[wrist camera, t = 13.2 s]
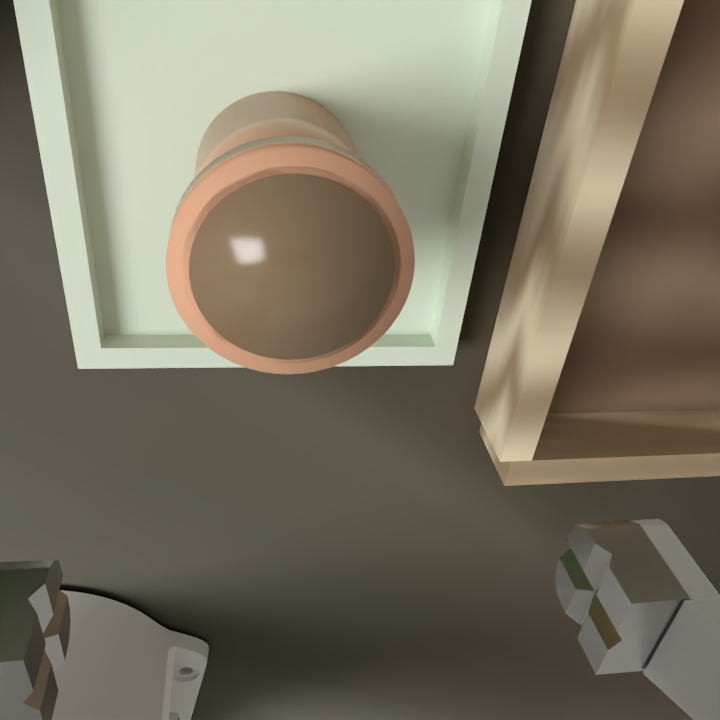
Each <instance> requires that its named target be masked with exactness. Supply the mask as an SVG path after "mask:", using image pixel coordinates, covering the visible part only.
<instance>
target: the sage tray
mask: <svg viewBox="0 0 720 720" xmlns="http://www.w3.org/2000/svg"><path fill="white" fill-rule="evenodd" d="M531 1H532V0H13V2H14V8H15V13H16V19H17V25H18V30H19V36H20V42H21V47H22V53H23V59H24V64H25V70H26V76H27V81H28V87H29V93H30V98H31V104H32V110H33V115H34V121H35V127H36V132H37V138H38V144H39V150H40V155H41V161H42V167H43V172H44V178H45V184H46V189H47V195H48V201H49V206H50V212H51V218H52V223H53V229H54V235H55V240H56V246H57V252H58V257H59V263H60V269H61V275H62V280H63V286H64V292H65V297H66V303H67V309H68V314H69V320H70V326H71V331H72V337H73V343H74V348H75V354H76V360H77V365H78V369H109V368H209V367H243V366H240V365H238V364H235V363H233V362H231V361H229V360H227V359H225V358H223V357H221V356H219V355H218V354H216V353H215V352H214V351H212V350H211V349H209V348H208V347H207V346H205V345H204V344H203V343H202V342H201V341H200V340H199V339H198V338H196V336H195V335H194V334H193V333H192V332H191V331H190V330H189V328H188V327H187V326H186V324H185V323H184V321H183V320H182V318H181V317H180V315H179V314H178V311H177V309H176V307H175V305H174V303H173V301H172V298H171V294H170V291H169V288H168V283H167V276H166V252H167V245H168V239H169V234H170V229H171V224H172V220H173V217H174V214H175V211H176V208H177V206H178V204H179V202H180V199H181V197H182V195H183V194H184V192H185V191H186V189H187V188H188V186H189V185H190V183H191V182H192V180H193V179H194V172H195V165H196V159H197V153H198V149H199V146H200V142H201V140H202V138H203V135H204V133H205V131H206V130H207V128H208V127H209V125H210V124H211V122H212V121H213V120H214V119H215V118H216V116H217V115H218V114H219V113H220V112H222V111H223V110H224V109H225V108H226V107H227V106H229V105H231V104H232V103H234V102H235V101H237V100H239V99H242V98H244V97H246V96H249V95H252V94H256V93H261V92H268V91H282V92H290V93H294V94H298V95H302V96H304V97H307V98H309V99H311V100H313V101H315V102H317V103H318V104H320V105H322V106H323V107H325V108H326V109H327V110H328V111H330V112H331V113H332V114H333V115H334V116H335V117H336V118H337V119H338V120H339V122H340V123H341V124H342V126H343V127H344V129H345V130H346V132H347V134H348V136H349V137H350V139H351V141H352V143H353V145H354V147H355V150H356V152H357V154H358V156H359V157H360V158H361V159H362V160H364V161H365V162H366V163H368V164H369V165H370V166H371V167H372V168H373V169H374V170H375V171H376V172H377V173H378V174H379V175H380V176H381V177H382V178H383V180H384V181H385V182H386V184H387V185H388V187H389V188H390V189H391V191H392V193H393V195H394V197H395V199H396V200H397V202H398V204H399V206H400V208H401V210H402V212H403V213H404V215H405V217H406V219H407V222H408V225H409V228H410V230H411V234H412V239H413V244H414V253H415V267H414V277H413V281H412V285H411V290H410V292H409V295H408V298H407V300H406V303H405V305H404V307H403V308H402V310H401V312H400V314H399V316H398V317H397V319H396V320H395V321H394V323H393V324H392V326H391V327H390V328H389V329H388V330H387V331H386V332H385V334H384V335H383V336H382V337H381V338H380V339H378V340H377V341H376V342H375V343H374V344H373V345H372V346H370V347H369V348H368V349H366V350H365V351H363V352H362V353H360V354H359V355H357V356H355V357H353V358H351V359H349V360H348V361H346V362H343V363H341V364H338V365H336V366H411V365H453V363H454V358H455V354H456V349H457V344H458V340H459V335H460V330H461V326H462V321H463V317H464V312H465V307H466V303H467V298H468V293H469V289H470V284H471V279H472V275H473V270H474V266H475V261H476V256H477V252H478V247H479V242H480V238H481V233H482V228H483V224H484V219H485V215H486V210H487V205H488V201H489V196H490V191H491V187H492V182H493V177H494V173H495V168H496V164H497V159H498V154H499V150H500V145H501V140H502V136H503V131H504V126H505V122H506V117H507V113H508V108H509V103H510V99H511V94H512V89H513V85H514V80H515V75H516V71H517V66H518V62H519V57H520V52H521V48H522V43H523V38H524V34H525V29H526V24H527V20H528V15H529V11H530V6H531Z"/></svg>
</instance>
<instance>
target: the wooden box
mask: <svg viewBox="0 0 720 720" xmlns="http://www.w3.org/2000/svg"><path fill="white" fill-rule="evenodd" d="M474 409H475V411H476V413H477V415H478V417H479V419H480V421H481V426H480V430H479V432H480V434H481V436H482V439H483V441H484V443H485V445H486V447H487V449H488V452H489V454H490V456H491V458H492V460H493V462H494V465H495V467H496V469H497V471H498V473H499V475H500V477H501V480H502V482H503V484H504V486H511V485H532V484H554V483H576V482H598V481H619V480H641V479H663V478H684V477H706V476H720V0H576V2H575V6H574V10H573V14H572V18H571V22H570V26H569V30H568V34H567V38H566V42H565V46H564V50H563V54H562V58H561V62H560V66H559V70H558V74H557V78H556V82H555V86H554V90H553V94H552V98H551V102H550V106H549V110H548V114H547V119H546V123H545V127H544V131H543V135H542V139H541V143H540V147H539V151H538V155H537V159H536V163H535V167H534V171H533V175H532V179H531V183H530V187H529V191H528V195H527V199H526V203H525V207H524V211H523V215H522V219H521V223H520V227H519V231H518V235H517V239H516V243H515V247H514V251H513V255H512V259H511V263H510V267H509V271H508V275H507V279H506V283H505V287H504V291H503V295H502V299H501V303H500V307H499V311H498V315H497V319H496V323H495V327H494V331H493V335H492V339H491V343H490V347H489V351H488V355H487V359H486V363H485V367H484V371H483V375H482V379H481V383H480V387H479V391H478V395H477V399H476V403H475V408H474Z"/></svg>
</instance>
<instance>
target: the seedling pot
mask: <svg viewBox="0 0 720 720" xmlns="http://www.w3.org/2000/svg"><path fill="white" fill-rule="evenodd" d="M414 267H415V253H414V244H413V239H412V234H411V230H410V228H409V225H408V222H407V219H406V217H405V215H404V213H403V212H402V210H401V208H400V206H399V204H398V202H397V200H396V199H395V197H394V195H393V193H392V191H391V189H390V188H389V187H388V185H387V184H386V182H385V181H384V180H383V178H382V177H381V176H380V175H379V174H378V173H377V172H376V171H375V170H374V169H373V168H372V167H371V166H370V165H369V164H368V163H366V162H365V161H364V160H362V159H361V158H360V157H359V156H358V154H357V152H356V150H355V147H354V145H353V143H352V141H351V139H350V137H349V136H348V134H347V132H346V130H345V129H344V127H343V126H342V124H341V123H340V122H339V120H338V119H337V118H336V117H335V116H334V115H333V114H332V113H331V112H330V111H328V110H327V109H326V108H325V107H323V106H322V105H320V104H318V103H317V102H315V101H313V100H311V99H309V98H307V97H304V96H302V95H298V94H294V93H290V92H282V91H268V92H261V93H256V94H252V95H249V96H246V97H244V98H242V99H239V100H237V101H235V102H234V103H232V104H231V105H229V106H227V107H226V108H225V109H224V110H223V111H222V112H220V113H219V114H218V115H217V116H216V118H215V119H214V120H213V121H212V122H211V124H210V125H209V127H208V128H207V130H206V131H205V133H204V135H203V138H202V140H201V142H200V146H199V149H198V153H197V159H196V165H195V172H194V179H193V180H192V182H191V183H190V185H189V186H188V188H187V189H186V191H185V192H184V194H183V195H182V197H181V199H180V202H179V204H178V206H177V208H176V211H175V214H174V217H173V220H172V224H171V229H170V234H169V239H168V245H167V252H166V276H167V283H168V288H169V291H170V294H171V298H172V301H173V303H174V305H175V307H176V309H177V311H178V314H179V315H180V317H181V318H182V320H183V321H184V323H185V324H186V326H187V327H188V328H189V330H190V331H191V332H192V333H193V334H194V335H195V336H196V338H198V339H199V340H200V341H201V342H202V343H203V344H204V345H205V346H207V347H208V348H209V349H211V350H212V351H214V352H215V353H216V354H218V355H219V356H221V357H223V358H225V359H227V360H229V361H231V362H233V363H235V364H238V365H240V366H243V367H246V368H249V369H253V370H257V371H261V372H267V373H274V374H300V373H309V372H314V371H320V370H323V369H327V368H330V367H333V366H336V365H338V364H341V363H343V362H346V361H348V360H349V359H351V358H353V357H355V356H357V355H359V354H360V353H362V352H363V351H365V350H366V349H368V348H369V347H370V346H372V345H373V344H374V343H375V342H376V341H377V340H378V339H380V338H381V337H382V336H383V335H384V334H385V332H386V331H387V330H388V329H389V328H390V327H391V326H392V324H393V323H394V321H395V320H396V319H397V317H398V316H399V314H400V312H401V310H402V308H403V307H404V305H405V303H406V300H407V298H408V295H409V292H410V290H411V285H412V281H413V277H414Z"/></svg>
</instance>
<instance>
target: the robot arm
mask: <svg viewBox="0 0 720 720" xmlns="http://www.w3.org/2000/svg"><path fill="white" fill-rule="evenodd" d="M567 542H568V543H569V545H570V547H571V549H570V550H569V551H567V552H566V553H565V554H564V555H563V556H561V557H560V558H559V562H558V565H557V568H556V571H555V580H556V590H557V594H558V597H559V601H560V603H561V605H562V607H563V609H564V611H565V613H566V614H567V615H568V616H569V617H571V618H572V619H573V620H574V621H576V622H577V623H578V624H580V627H579V632H578V637H577V638H578V640H579V642H580V644H581V646H582V648H583V650H584V652H585V654H586V656H587V658H588V660H589V662H590V664H591V666H592V668H593V670H594V672H595V674H596V675H598V674H610V673H622V672H634V671H644V673H643V674H644V675H645V676H646V677H647V678H649V679H650V680H651V681H652V682H653V683H654V684H655V685H656V686H657V687H658V688H659V689H661V690H662V691H663V692H664V693H665V694H666V695H667V696H668V697H669V698H670V699H671V700H673V701H674V702H675V703H676V704H677V705H678V706H679V707H680V708H681V709H682V710H683V711H685V712H686V713H687V714H688V715H689V716H690V717H691V718H692V719H693V720H720V595H719V593H718V592H717V591H716V589H715V588H714V587H713V585H712V584H711V583H710V581H709V580H708V579H707V577H706V576H705V574H704V573H703V572H702V570H701V569H700V568H699V566H698V565H697V564H696V562H695V561H694V560H693V558H692V557H691V556H690V554H689V553H688V551H687V550H686V549H685V547H684V546H683V545H682V543H681V542H680V541H679V539H678V538H677V537H676V535H675V534H674V533H673V531H672V530H671V529H670V527H669V526H668V525H667V524H666V523H665V522H663V521H662V520H660V519H648V520H633V521H627V520H626V521H613V522H601V523H589V524H577V525H576V526H575V527H573V528H572V529H571V530H570V533H569V535H568V538H567ZM62 577H63V575H62V571H61V567H60V564H59V561H57V560H45V561H21V562H0V720H191V717H192V714H193V710H194V707H195V703H196V700H197V696H198V693H199V689H200V686H201V683H202V679H203V676H204V672H205V669H206V665H207V660H208V654H209V646H208V644H207V643H206V642H204V641H203V640H201V639H198V638H195V637H192V636H189V635H186V634H182V633H178V632H175V631H171V630H168V629H166V628H164V627H163V626H161V625H159V624H158V623H156V622H155V621H154V620H152V619H151V618H149V617H148V616H146V615H145V614H143V613H141V612H140V611H138V610H136V609H134V608H132V607H130V606H128V605H125V604H123V603H120V602H118V601H115V600H111V599H108V598H105V597H101V596H97V595H92V594H87V593H81V592H73V591H63V590H59V589H60V585H61V581H62Z"/></svg>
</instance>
